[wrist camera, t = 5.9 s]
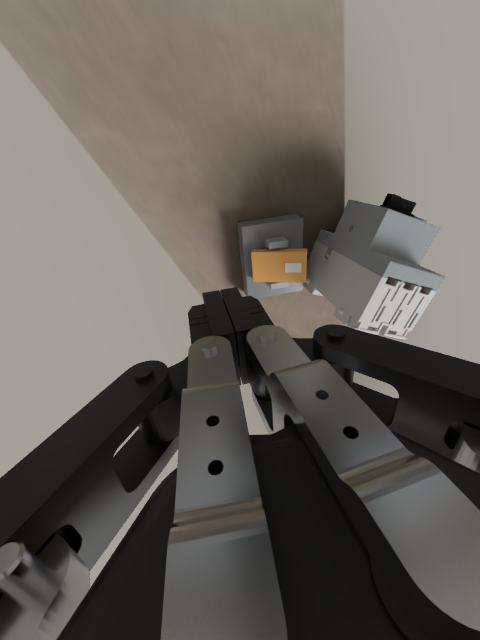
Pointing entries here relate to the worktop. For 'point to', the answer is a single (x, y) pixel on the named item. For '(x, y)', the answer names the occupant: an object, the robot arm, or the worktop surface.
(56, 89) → the worktop surface
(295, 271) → the block
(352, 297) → the electrical contactor
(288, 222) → the switch box
